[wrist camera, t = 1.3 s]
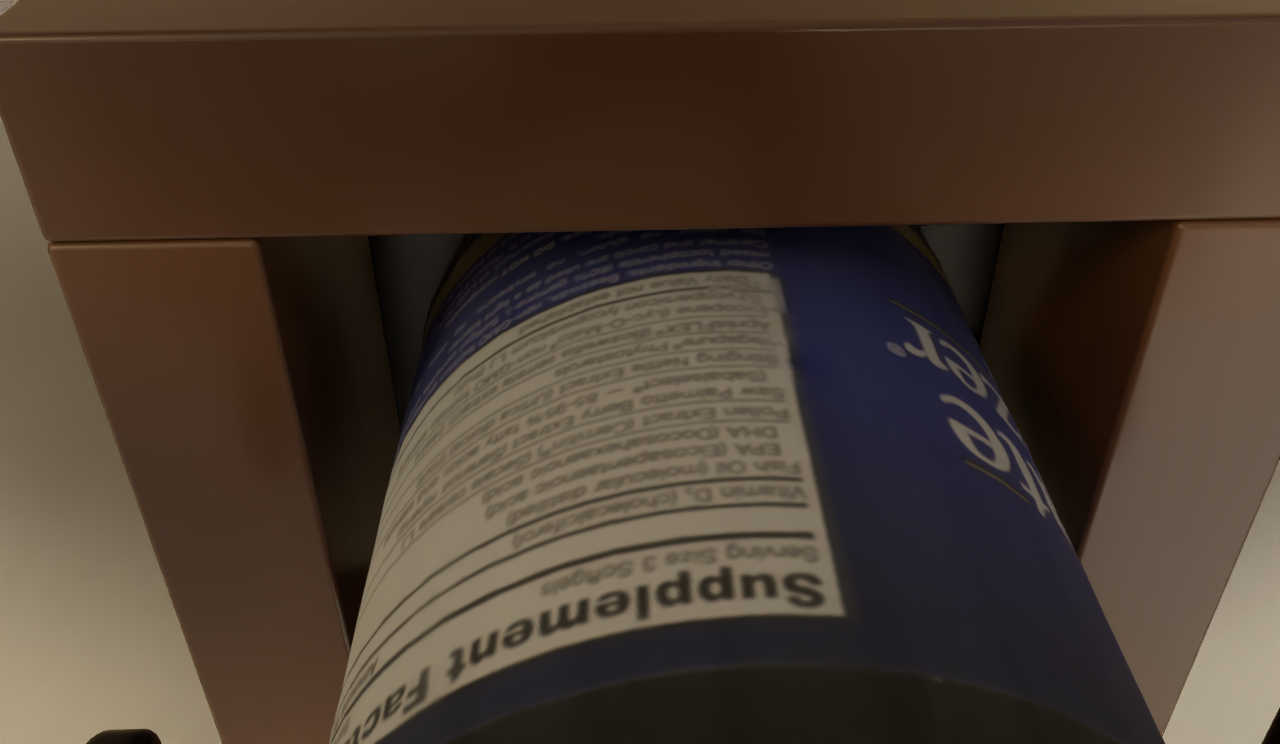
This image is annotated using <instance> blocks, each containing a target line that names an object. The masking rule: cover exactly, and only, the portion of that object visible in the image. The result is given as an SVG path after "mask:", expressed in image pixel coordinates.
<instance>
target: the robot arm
mask: <svg viewBox="0 0 1280 744" xmlns="http://www.w3.org/2000/svg"><path fill="white" fill-rule="evenodd" d="M86 744H161V741H160V739H159V737H158V736H157V734H155V733H154V732H153V731H151V730H149V729H124V730H107V731H103V732H101V733H99V734H97V735H95V736H94V737H93V738H91V739H90V740H89V741H88V742H87V743H86ZM1262 744H1280V708H1279V710H1278V712H1277V714H1276V716H1275V718H1274V720H1273V722H1272V724H1271V726H1270V728H1269V730H1268V732H1267V734H1266V736H1265V738H1264V740H1263V742H1262Z"/></svg>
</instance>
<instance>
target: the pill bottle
mask: <svg viewBox="0 0 1280 744" xmlns="http://www.w3.org/2000/svg"><path fill="white" fill-rule="evenodd" d="M329 744H1165V743H1164V740H1163V738H1162V736H1161V734H1160V732H1159V730H1158V728H1157V725H1156V723H1155V721H1154V719H1153V717H1152V715H1151V712H1150V710H1149V708H1148V706H1147V704H1146V702H1145V700H1144V697H1143V695H1142V693H1141V691H1140V689H1139V687H1138V685H1137V683H1136V680H1135V678H1134V676H1133V674H1132V672H1131V670H1130V668H1129V666H1128V664H1127V661H1126V659H1125V657H1124V655H1123V653H1122V651H1121V649H1120V647H1119V645H1118V642H1117V640H1116V638H1115V636H1114V634H1113V632H1112V630H1111V628H1110V625H1109V623H1108V621H1107V619H1106V617H1105V615H1104V613H1103V610H1102V608H1101V606H1100V604H1099V601H1098V599H1097V597H1096V595H1095V593H1094V590H1093V588H1092V586H1091V584H1090V581H1089V579H1088V577H1087V575H1086V573H1085V570H1084V568H1083V566H1082V564H1081V562H1080V560H1079V558H1078V556H1077V554H1076V552H1075V550H1074V548H1073V545H1072V543H1071V540H1070V538H1069V536H1068V534H1067V532H1066V530H1065V528H1064V526H1063V525H1062V523H1061V521H1060V519H1059V516H1058V514H1057V512H1056V510H1055V507H1054V505H1053V503H1052V501H1051V499H1050V496H1049V494H1048V491H1047V489H1046V487H1045V485H1044V483H1043V481H1042V479H1041V477H1040V474H1039V472H1038V470H1037V468H1036V466H1035V464H1034V462H1033V459H1032V456H1031V454H1030V451H1029V448H1028V446H1027V445H1026V443H1025V441H1024V440H1023V438H1022V436H1021V434H1020V432H1019V430H1018V428H1017V426H1016V424H1015V422H1014V420H1013V418H1012V416H1011V414H1010V412H1009V409H1008V407H1007V405H1006V403H1005V401H1004V399H1003V397H1002V395H1001V392H1000V390H999V388H998V386H997V384H996V382H995V380H994V377H993V375H992V373H991V371H990V369H989V367H988V365H987V362H986V360H985V358H984V356H983V354H982V352H981V350H980V348H979V345H978V343H977V341H976V339H975V337H974V335H973V333H972V331H971V329H970V327H969V325H968V322H967V320H966V318H965V316H964V314H963V312H962V310H961V308H960V306H959V304H958V302H957V299H956V297H955V295H954V293H953V291H952V289H951V287H950V284H949V282H948V280H947V278H946V276H945V274H944V272H943V269H942V267H941V265H940V263H939V261H938V259H937V258H936V256H935V254H934V253H933V251H932V250H931V248H930V246H929V245H928V243H927V242H926V240H925V238H924V237H923V235H922V233H921V232H920V230H919V228H918V227H917V225H890V226H838V227H786V228H734V229H681V230H629V231H577V232H525V233H473V234H468V236H467V237H466V239H465V240H464V242H463V244H462V245H461V247H460V249H459V251H458V252H457V254H456V256H455V257H454V259H453V261H452V263H451V264H450V266H449V268H448V270H447V272H446V274H445V276H444V278H443V280H442V282H441V284H440V286H439V288H438V290H437V291H436V293H435V295H434V297H433V298H432V301H431V304H430V307H429V310H428V314H427V317H426V321H425V325H424V333H423V343H422V348H421V352H420V356H419V360H418V364H417V368H416V371H415V375H414V379H413V384H412V388H411V392H410V396H409V400H408V405H407V409H406V413H405V417H404V421H403V426H402V430H401V434H400V438H399V443H398V447H397V451H396V455H395V460H394V464H393V468H392V472H391V477H390V481H389V485H388V489H387V493H386V496H385V501H384V506H383V510H382V515H381V519H380V524H379V528H378V533H377V538H376V542H375V547H374V551H373V555H372V559H371V564H370V568H369V572H368V576H367V581H366V585H365V589H364V593H363V598H362V602H361V606H360V611H359V615H358V619H357V623H356V628H355V633H354V637H353V642H352V646H351V651H350V655H349V660H348V664H347V669H346V673H345V678H344V682H343V687H342V692H341V696H340V699H339V703H338V707H337V711H336V715H335V719H334V724H333V727H332V730H331V736H330V742H329Z"/></svg>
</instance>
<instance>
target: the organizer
mask: <svg viewBox="0 0 1280 744" xmlns="http://www.w3.org/2000/svg"><path fill="white" fill-rule="evenodd" d="M0 116H1V118H2V121H3V124H4V127H5V130H6V133H7V135H8V138H9V141H10V144H11V147H12V150H13V152H14V155H15V158H16V161H17V164H18V167H19V169H20V172H21V175H22V178H23V181H24V183H25V186H26V189H27V192H28V195H29V198H30V200H31V203H32V206H33V209H34V212H35V215H36V217H37V220H38V223H39V226H40V229H41V232H42V234H43V237H44V238H45V239H46V240H48V241H50V242H49V244H48V252H49V255H50V258H51V261H52V264H53V267H54V269H55V272H56V275H57V278H58V281H59V284H60V286H61V289H62V292H63V295H64V298H65V300H66V303H67V306H68V309H69V312H70V315H71V317H72V320H73V323H74V326H75V329H76V332H77V334H78V337H79V340H80V343H81V346H82V348H83V351H84V354H85V357H86V360H87V363H88V365H89V368H90V371H91V374H92V377H93V380H94V382H95V385H96V388H97V391H98V394H99V396H100V399H101V402H102V405H103V408H104V411H105V413H106V416H107V419H108V422H109V425H110V428H111V430H112V433H113V436H114V439H115V442H116V444H117V447H118V450H119V453H120V456H121V459H122V461H123V464H124V467H125V470H126V473H127V476H128V478H129V481H130V484H131V487H132V490H133V492H134V495H135V498H136V501H137V504H138V507H139V509H140V512H141V515H142V518H143V521H144V524H145V526H146V529H147V532H148V535H149V538H150V540H151V543H152V546H153V549H154V552H155V555H156V557H157V560H158V563H159V566H160V569H161V572H162V574H163V577H164V580H165V583H166V586H167V589H168V591H169V594H170V597H171V600H172V603H173V605H174V608H175V611H176V614H177V617H178V620H179V622H180V625H181V628H182V631H183V634H184V637H185V639H186V642H187V645H188V648H189V651H190V653H191V656H192V659H193V662H194V665H195V668H196V670H197V673H198V676H199V679H200V682H201V685H202V687H203V690H204V693H205V696H206V699H207V701H208V704H209V707H210V710H211V713H212V716H213V718H214V721H215V724H216V727H217V730H218V733H219V735H220V738H221V741H222V744H329V742H330V736H331V730H332V727H333V724H334V719H335V715H336V711H337V707H338V703H339V699H340V696H341V692H342V687H343V682H344V678H345V673H346V669H347V664H348V660H349V655H350V651H351V646H352V642H353V637H354V633H355V628H356V623H357V619H358V615H359V611H360V606H361V602H362V598H363V593H364V589H365V585H366V581H367V576H368V572H369V568H370V564H371V559H372V555H373V551H374V547H375V542H376V538H377V533H378V528H379V524H380V519H381V515H382V510H383V506H384V501H385V496H386V493H387V489H388V485H389V481H390V477H391V472H392V468H393V464H394V460H395V455H396V451H397V447H398V443H399V438H400V430H399V424H398V418H397V412H396V406H395V399H394V393H393V387H392V381H391V375H390V369H389V363H388V357H387V351H386V345H385V339H384V333H383V327H382V320H381V314H380V308H379V302H378V296H377V290H376V284H375V278H374V272H373V266H372V260H371V254H370V248H369V241H368V236H369V235H421V234H473V233H525V232H577V231H629V230H681V229H734V228H786V227H838V226H890V225H942V224H994V223H1005V225H1004V229H1003V234H1002V239H1001V244H1000V249H999V254H998V259H997V263H996V268H995V273H994V278H993V283H992V288H991V293H990V297H989V302H988V307H987V312H986V317H985V322H984V327H983V331H982V336H981V341H980V346H979V348H980V350H981V352H982V354H983V356H984V358H985V360H986V362H987V365H988V367H989V369H990V371H991V373H992V375H993V377H994V380H995V382H996V384H997V386H998V388H999V390H1000V392H1001V395H1002V397H1003V399H1004V401H1005V403H1006V405H1007V407H1008V409H1009V412H1010V414H1011V416H1012V418H1013V420H1014V422H1015V424H1016V426H1017V428H1018V430H1019V432H1020V434H1021V436H1022V438H1023V440H1024V441H1025V443H1026V445H1027V446H1028V448H1029V451H1030V454H1031V456H1032V459H1033V462H1034V464H1035V466H1036V468H1037V470H1038V472H1039V474H1040V477H1041V479H1042V481H1043V483H1044V485H1045V487H1046V489H1047V491H1048V494H1049V496H1050V499H1051V501H1052V503H1053V505H1054V507H1055V510H1056V512H1057V514H1058V516H1059V519H1060V521H1061V523H1062V525H1063V526H1064V528H1065V530H1066V532H1067V534H1068V536H1069V538H1070V540H1071V543H1072V545H1073V548H1074V550H1075V552H1076V554H1077V556H1078V558H1079V560H1080V562H1081V564H1082V566H1083V568H1084V570H1085V573H1086V575H1087V577H1088V579H1089V581H1090V584H1091V586H1092V588H1093V590H1094V593H1095V595H1096V597H1097V599H1098V601H1099V604H1100V606H1101V608H1102V610H1103V613H1104V615H1105V617H1106V619H1107V621H1108V623H1109V625H1110V628H1111V630H1112V632H1113V634H1114V636H1115V638H1116V640H1117V642H1118V645H1119V647H1120V649H1121V651H1122V653H1123V655H1124V657H1125V659H1126V661H1127V664H1128V666H1129V668H1130V670H1131V672H1132V674H1133V676H1134V678H1135V680H1136V683H1137V685H1138V687H1139V689H1140V691H1141V693H1142V695H1143V697H1144V700H1145V702H1146V704H1147V706H1148V708H1149V710H1150V712H1151V715H1152V717H1153V719H1154V721H1155V723H1156V725H1157V728H1158V730H1159V732H1160V734H1161V736H1163V734H1164V731H1165V729H1166V727H1167V724H1168V722H1169V720H1170V717H1171V715H1172V713H1173V710H1174V708H1175V705H1176V703H1177V701H1178V698H1179V696H1180V694H1181V691H1182V689H1183V686H1184V684H1185V682H1186V679H1187V677H1188V675H1189V672H1190V670H1191V668H1192V665H1193V663H1194V660H1195V658H1196V656H1197V653H1198V651H1199V649H1200V646H1201V644H1202V642H1203V639H1204V637H1205V634H1206V632H1207V630H1208V627H1209V625H1210V623H1211V620H1212V618H1213V616H1214V613H1215V611H1216V608H1217V606H1218V604H1219V601H1220V599H1221V597H1222V594H1223V592H1224V589H1225V587H1226V585H1227V582H1228V580H1229V578H1230V575H1231V573H1232V571H1233V568H1234V566H1235V563H1236V561H1237V559H1238V556H1239V554H1240V552H1241V549H1242V547H1243V545H1244V542H1245V540H1246V537H1247V535H1248V533H1249V530H1250V528H1251V526H1252V523H1253V521H1254V519H1255V516H1256V514H1257V511H1258V509H1259V507H1260V504H1261V502H1262V500H1263V497H1264V495H1265V492H1266V490H1267V488H1268V485H1269V483H1270V481H1271V478H1272V476H1273V474H1274V471H1275V469H1276V466H1277V464H1278V462H1279V459H1280V0H19V1H18V2H17V3H15V4H14V5H13V6H12V7H10V8H9V9H8V10H7V11H5V12H4V13H3V14H2V15H0Z"/></svg>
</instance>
